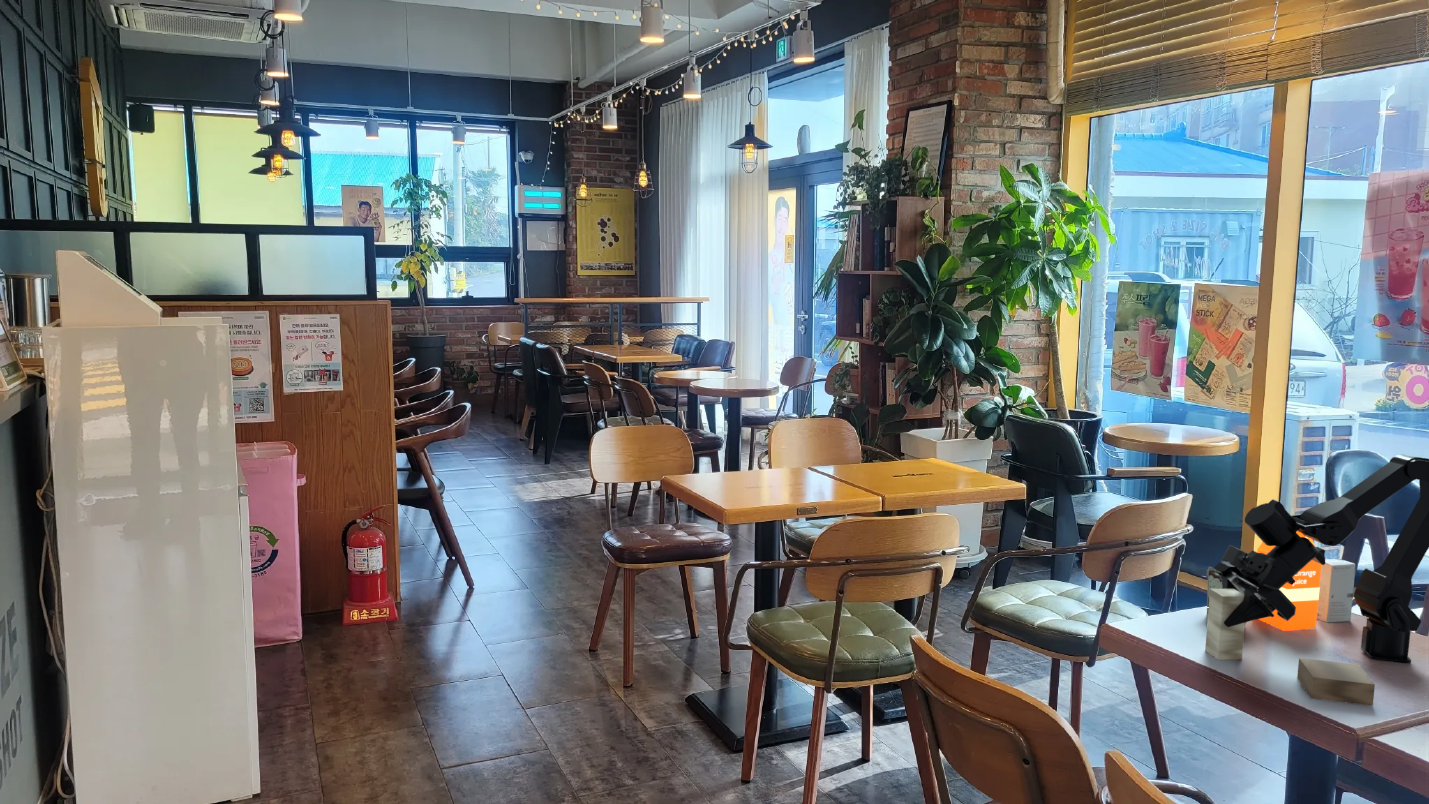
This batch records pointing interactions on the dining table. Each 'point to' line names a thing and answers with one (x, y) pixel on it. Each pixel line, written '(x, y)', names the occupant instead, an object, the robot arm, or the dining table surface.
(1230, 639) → the birch pillar
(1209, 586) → the food container
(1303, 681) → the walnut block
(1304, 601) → the orange juice
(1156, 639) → the dining table surface
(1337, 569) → the skincare box
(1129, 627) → the dining table surface
